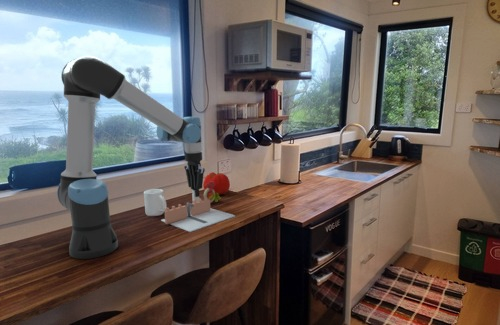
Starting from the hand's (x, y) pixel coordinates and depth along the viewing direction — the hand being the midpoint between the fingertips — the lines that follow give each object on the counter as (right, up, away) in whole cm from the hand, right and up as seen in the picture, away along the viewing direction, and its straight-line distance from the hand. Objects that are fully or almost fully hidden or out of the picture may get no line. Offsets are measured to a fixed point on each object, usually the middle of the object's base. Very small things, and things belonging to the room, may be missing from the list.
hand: (196, 203), depth 158 cm
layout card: (+3, -5, -11) cm, 12 cm away
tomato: (+7, +1, +28) cm, 28 cm away
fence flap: (+3, -4, -5) cm, 7 cm away
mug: (-17, -5, -3) cm, 17 cm away
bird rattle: (+6, -1, +12) cm, 14 cm away
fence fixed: (-5, -6, -13) cm, 15 cm away
